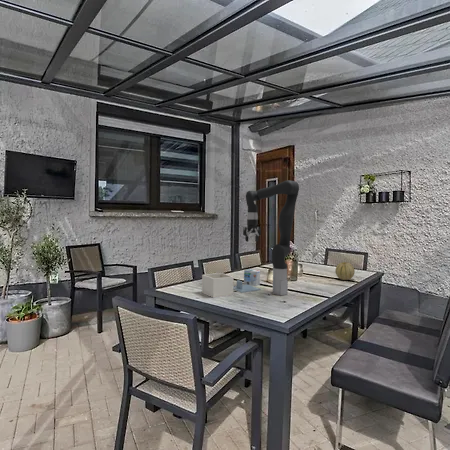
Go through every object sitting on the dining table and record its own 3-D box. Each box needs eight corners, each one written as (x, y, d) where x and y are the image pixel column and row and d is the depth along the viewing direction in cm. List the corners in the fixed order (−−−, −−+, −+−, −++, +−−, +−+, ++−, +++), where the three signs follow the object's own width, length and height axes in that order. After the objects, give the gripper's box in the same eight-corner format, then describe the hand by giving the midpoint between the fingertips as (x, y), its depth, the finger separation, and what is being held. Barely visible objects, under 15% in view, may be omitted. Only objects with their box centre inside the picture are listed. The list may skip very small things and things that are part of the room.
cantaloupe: (351, 278, 280) (352, 260, 279) (356, 282, 265) (357, 263, 264) (333, 277, 281) (333, 260, 280) (337, 281, 266) (337, 262, 266)
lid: (260, 290, 234) (260, 281, 234) (241, 293, 226) (241, 283, 225) (247, 286, 248) (247, 277, 247) (228, 288, 239) (229, 279, 239)
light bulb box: (243, 284, 251) (243, 270, 250) (247, 282, 257) (247, 268, 256) (256, 286, 246) (257, 271, 245) (260, 284, 252) (260, 270, 251)
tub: (233, 295, 219) (233, 276, 218) (213, 297, 211) (213, 278, 211) (221, 290, 232) (221, 272, 231) (201, 292, 224) (202, 274, 223)
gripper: (247, 219, 234) (246, 242, 235) (263, 219, 242) (263, 241, 242) (241, 218, 240) (240, 241, 241) (257, 218, 248) (256, 240, 249)
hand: (251, 241), depth 242 cm, fingers open, 8 cm apart
